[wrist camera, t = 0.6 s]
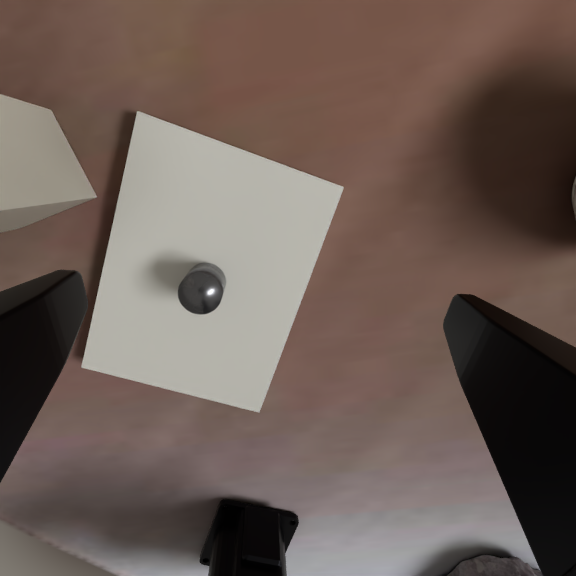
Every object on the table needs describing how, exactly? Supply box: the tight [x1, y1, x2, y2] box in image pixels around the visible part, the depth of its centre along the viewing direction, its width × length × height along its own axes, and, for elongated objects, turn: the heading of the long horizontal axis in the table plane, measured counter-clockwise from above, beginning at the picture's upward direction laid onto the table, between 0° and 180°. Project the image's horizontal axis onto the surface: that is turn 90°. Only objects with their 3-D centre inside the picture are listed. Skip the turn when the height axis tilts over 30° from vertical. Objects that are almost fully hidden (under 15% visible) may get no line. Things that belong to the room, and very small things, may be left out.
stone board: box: [82, 111, 344, 412], centre depth 23 cm, size 16×12×1 cm
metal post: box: [178, 263, 226, 315], centre depth 22 cm, size 2×2×2 cm
